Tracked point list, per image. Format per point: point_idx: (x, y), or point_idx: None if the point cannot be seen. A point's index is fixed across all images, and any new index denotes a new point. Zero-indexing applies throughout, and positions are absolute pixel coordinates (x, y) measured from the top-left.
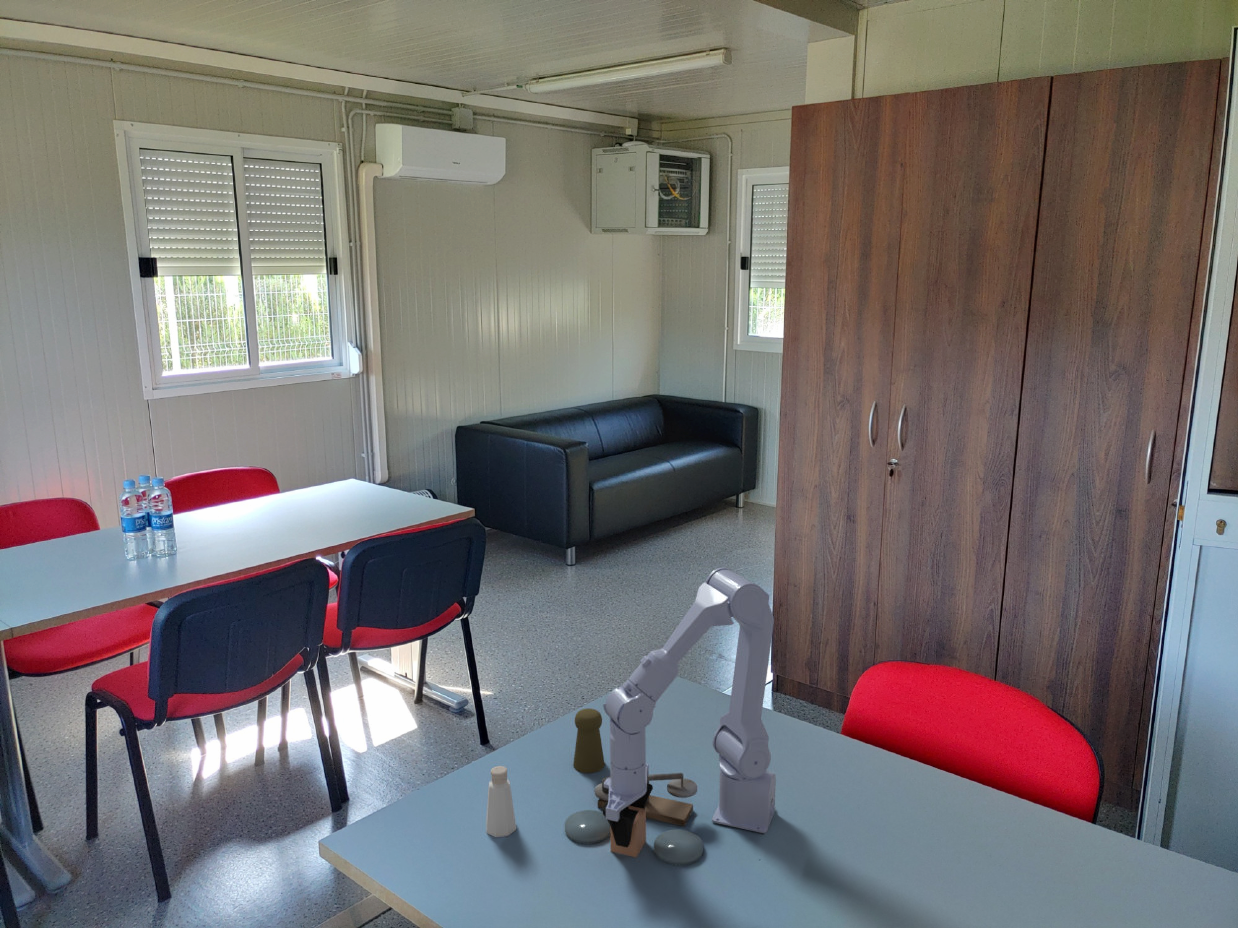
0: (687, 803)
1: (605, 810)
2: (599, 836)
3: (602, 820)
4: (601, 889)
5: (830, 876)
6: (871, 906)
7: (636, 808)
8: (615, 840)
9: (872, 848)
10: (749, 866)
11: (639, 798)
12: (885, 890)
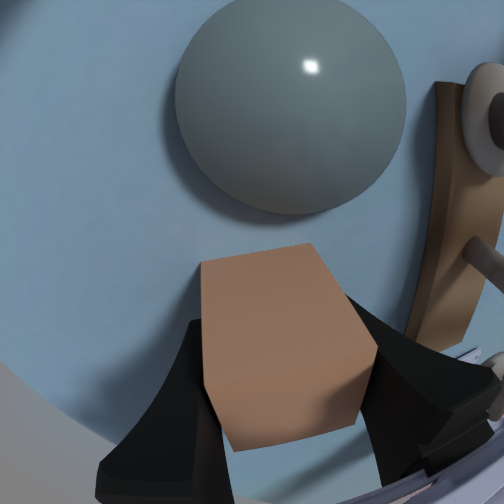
0: (464, 332)
1: (100, 501)
2: (236, 198)
3: (354, 150)
4: (41, 326)
5: (315, 480)
6: (280, 498)
7: (352, 405)
8: (185, 335)
9: (374, 469)
10: (301, 453)
11: (381, 442)
12: (309, 493)
